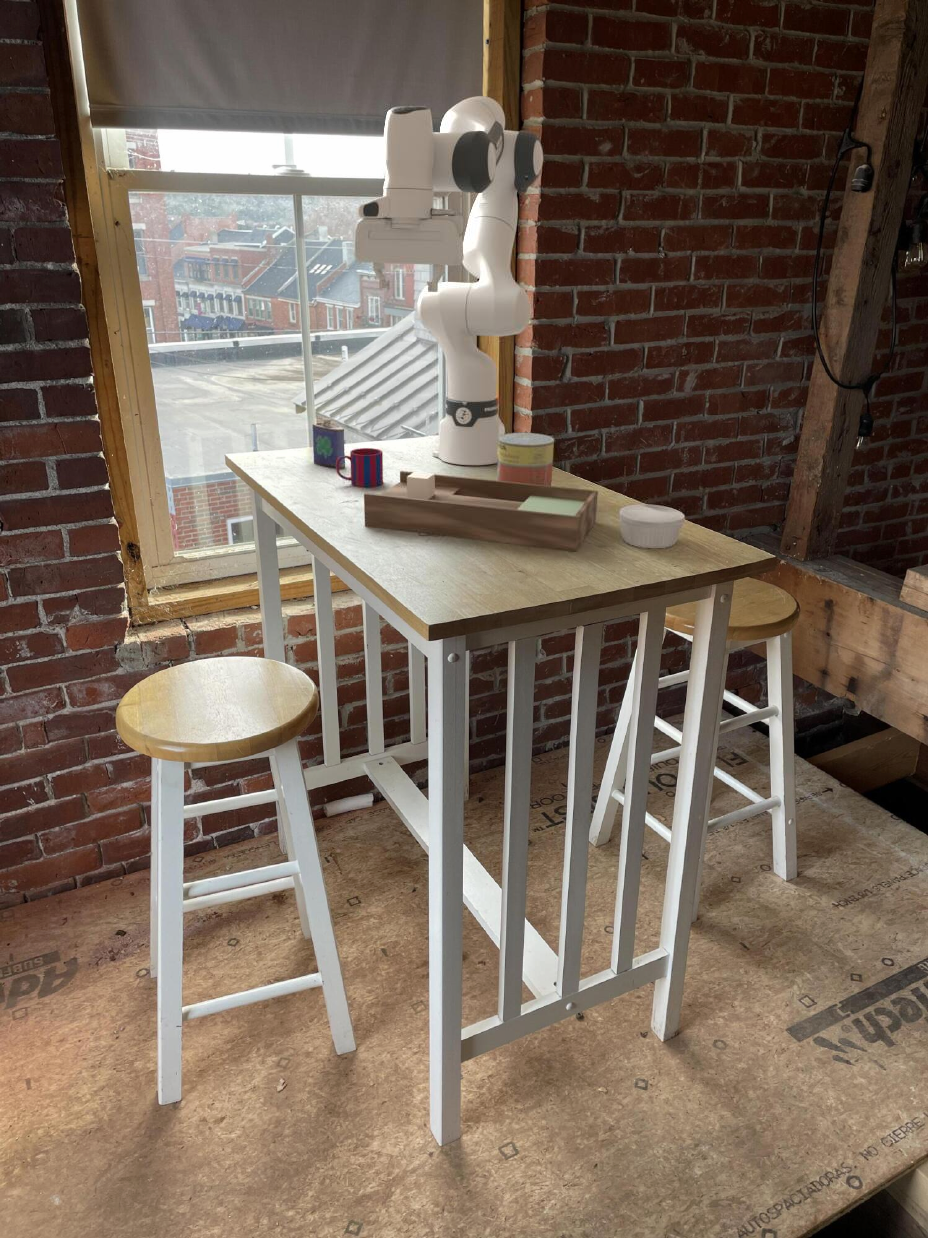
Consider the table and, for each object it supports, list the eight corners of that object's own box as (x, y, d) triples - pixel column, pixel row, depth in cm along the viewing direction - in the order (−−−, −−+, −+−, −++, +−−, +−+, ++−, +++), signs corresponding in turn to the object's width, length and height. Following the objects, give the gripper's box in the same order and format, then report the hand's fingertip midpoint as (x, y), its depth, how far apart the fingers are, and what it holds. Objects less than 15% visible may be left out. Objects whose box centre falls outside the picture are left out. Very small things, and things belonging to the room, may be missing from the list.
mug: (386, 486, 190) (385, 454, 187) (338, 489, 187) (337, 456, 185) (379, 478, 196) (378, 447, 193) (333, 481, 193) (332, 449, 190)
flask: (347, 467, 204) (345, 419, 200) (338, 470, 202) (336, 421, 198) (319, 461, 209) (316, 414, 205) (309, 463, 207) (307, 416, 203)
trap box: (401, 500, 181) (401, 470, 178) (595, 521, 170) (597, 490, 167) (364, 525, 165) (363, 493, 162) (575, 551, 154) (578, 517, 152)
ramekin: (687, 537, 163) (690, 508, 161) (674, 555, 153) (677, 525, 151) (626, 528, 167) (628, 500, 165) (609, 545, 157) (612, 516, 155)
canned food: (500, 488, 191) (502, 431, 186) (553, 491, 189) (556, 434, 184) (491, 502, 180) (493, 442, 176) (548, 506, 178) (551, 446, 174)
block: (414, 492, 171) (414, 471, 170) (434, 494, 170) (434, 473, 169) (406, 497, 168) (406, 476, 166) (427, 500, 167) (427, 478, 165)
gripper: (469, 209, 161) (467, 292, 166) (363, 208, 167) (365, 288, 172) (458, 207, 155) (456, 293, 161) (349, 206, 161) (351, 289, 166)
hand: (408, 290), depth 166 cm, fingers open, 8 cm apart
